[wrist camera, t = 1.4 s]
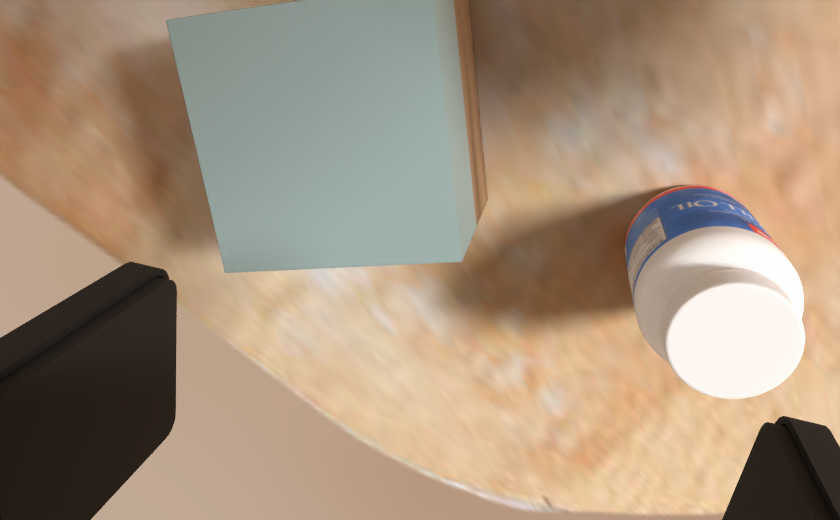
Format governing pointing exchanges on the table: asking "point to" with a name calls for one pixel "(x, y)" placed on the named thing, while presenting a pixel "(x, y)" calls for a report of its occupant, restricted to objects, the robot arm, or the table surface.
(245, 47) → the tower top
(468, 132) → the tower base
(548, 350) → the table surface
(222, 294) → the table surface
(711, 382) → the pill bottle
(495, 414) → the table surface
